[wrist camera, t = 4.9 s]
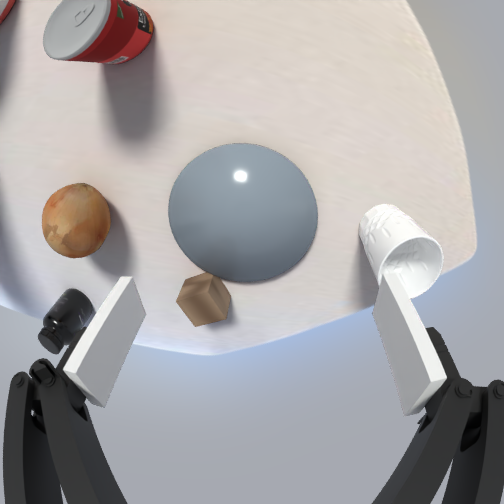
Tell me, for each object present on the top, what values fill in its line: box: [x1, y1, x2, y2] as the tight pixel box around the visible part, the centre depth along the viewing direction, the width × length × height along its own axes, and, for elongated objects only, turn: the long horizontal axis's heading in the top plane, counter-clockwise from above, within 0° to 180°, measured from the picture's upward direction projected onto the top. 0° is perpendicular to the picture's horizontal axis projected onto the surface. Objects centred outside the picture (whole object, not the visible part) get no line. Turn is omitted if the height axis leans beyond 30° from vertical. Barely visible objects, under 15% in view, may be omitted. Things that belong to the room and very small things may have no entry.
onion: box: [42, 183, 111, 258], centre depth 30 cm, size 10×10×10 cm
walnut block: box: [176, 272, 231, 327], centre depth 38 cm, size 5×5×5 cm
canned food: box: [43, 0, 153, 64], centre depth 18 cm, size 8×8×11 cm
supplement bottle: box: [38, 289, 92, 354], centre depth 39 cm, size 7×7×12 cm
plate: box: [168, 143, 318, 282], centre depth 33 cm, size 18×18×1 cm
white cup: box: [359, 204, 444, 299], centre depth 29 cm, size 8×8×10 cm
